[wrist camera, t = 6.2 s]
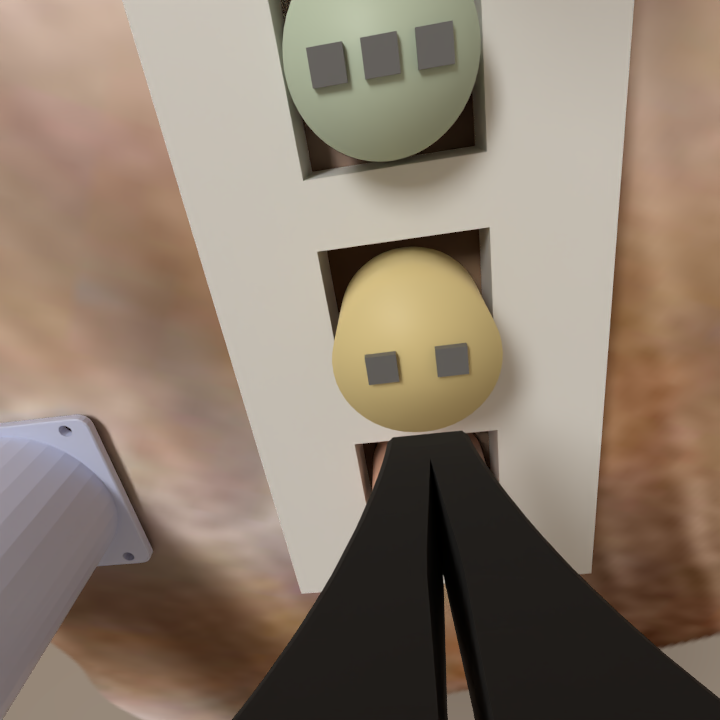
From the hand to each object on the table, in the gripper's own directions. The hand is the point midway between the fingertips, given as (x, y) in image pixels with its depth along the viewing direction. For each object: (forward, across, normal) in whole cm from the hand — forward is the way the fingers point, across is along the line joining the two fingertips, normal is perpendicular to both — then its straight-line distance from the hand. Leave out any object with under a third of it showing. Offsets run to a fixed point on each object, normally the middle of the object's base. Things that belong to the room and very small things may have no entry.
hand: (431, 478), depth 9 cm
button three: (+9, 0, -7) cm, 11 cm away
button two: (+8, 0, 0) cm, 8 cm away
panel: (+9, 0, 0) cm, 9 cm away
